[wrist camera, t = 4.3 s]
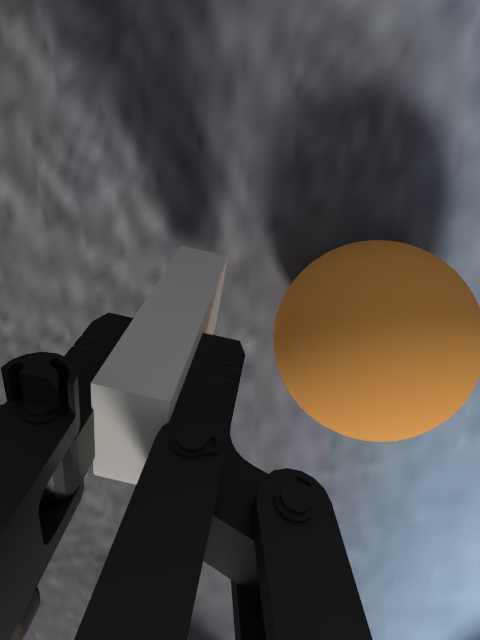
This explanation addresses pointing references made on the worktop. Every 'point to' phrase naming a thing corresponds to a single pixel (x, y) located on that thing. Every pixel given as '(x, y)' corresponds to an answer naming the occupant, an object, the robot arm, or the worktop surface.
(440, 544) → the worktop surface
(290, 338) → the ball
